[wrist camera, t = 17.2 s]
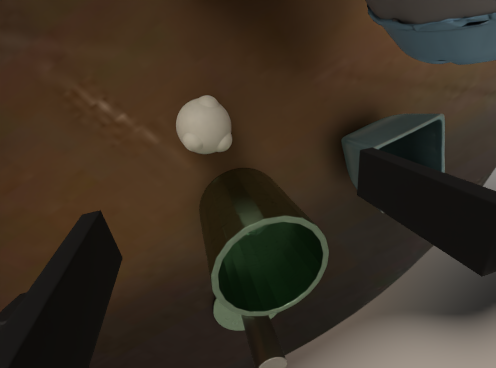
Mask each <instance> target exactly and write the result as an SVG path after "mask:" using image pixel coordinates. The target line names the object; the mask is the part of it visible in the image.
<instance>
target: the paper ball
mask: <svg viewBox="0 0 496 368" xmlns="http://www.w3.org/2000/svg"><path fill="white" fill-rule="evenodd" d="M176 130H177V134H178V136H179V138H180V140H181V142H182V143H183V144H184V146H185V147H186V148H187V149H188V150H190V151H193V152H196V153H200V154H210V153H214V152H216V151H217V152H223V151H226V150H227V149H228V148H229V147H230V146H231V144H232V135H231V120H230V117H229V115H228V113H227V111H226V110H225V109H224V107H223V106H222V105H220V104H219V103H218V101H217V100H216V99H215V98H214V97H212V96H209V95H205V96H202V97H200V98H198V99H194V100H192V101H190V102H188V103H186V104H185V105H184V106H183V107H182V109H181V110H180V112H179V114H178V116H177V120H176Z"/></svg>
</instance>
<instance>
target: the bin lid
mask: <svg viewBox="0 0 496 368" xmlns="http://www.w3.org/2000/svg"><path fill="white" fill-rule="evenodd" d="M213 313H214V317H215V319H216V321H217V322H218V323H219V324H220V325H221V326H223V327H225V328H227V329H230V330H238V331H241V330H245V332H246V336H247V340H248V343H249V347H250V351H251V354H252V358H253V362H254V365H255V368H286V366H287V361H286V358H285V355H284V353H283V350H282V348H281V345H280V343H279V340H278V338H277V335H276V333H275V330H274V327H273V325H272V322H271V320H270V319H271V318H273V317H274V316H275V315H276V314H277V313H278V312H277V313H274V314H270V315H266V316H245V315H241V314H237V313H234V312H231V311H230V310H229V309H227V308H226V307H224V306H223V305H221V304H220V303H219V301H218V299H217V298H216V297H215V299H214V303H213Z"/></svg>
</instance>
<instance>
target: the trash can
mask: <svg viewBox="0 0 496 368" xmlns="http://www.w3.org/2000/svg"><path fill="white" fill-rule="evenodd" d="M199 211H200V220H201V226H202V232H203V238H204V244H205V249H206V255H207V261H208V267H209V273H210V279H211V285H212V290H213V292H214V294H215V296H216V298H217V299H218V301H219V303H220V304H221V305H223V306H224V307H226V308H227V309H229V310H230V311H231V312H234V313H237V314H241V315H245V316H266V315H270V314H274V313H277V312H280V311H283V310H285V309H287V308H289V307H291V306H293V305H295V304H296V303H298V302H299V301H300V300H302V299H303V298H304V297H305V296H307V295H308V294H309V293H310V292H311V291H312V290H313V288H314V287H315V286H316V285H317V283H318V282H319V281H320V279H321V277H322V275H323V273H324V271H325V269H326V267H327V261H328V254H329V250H328V246H327V242H326V238H325V236H324V235H323V233H322V232H321V231H320V229H319V228H318V227H317V225H316V224H315V223H314V222H313V221H312V220H311V219H310V218H309V217H308V216H307V215H306V214H305V213H304V212H303V211H302V210H301V209H300V208H299V207H298V206H297V205H296V204H295V203H294V202H293V201H292V200H291V199H290V198H289V197H288V196H287V194H286V193H285V192H284V191H283V190H282V189H281V188H280V187H279V186H278V185H277V184H276V183H275V182H274V181H273V180H272V179H271V178H270V177H268V176H267V175H266V174H264V173H262V172H260V171H258V170H255V169H249V168H240V169H234V170H230V171H228V172H225V173H223V174H221V175H220V176H218V177H217V178H216V179H214V180H213V181H212V182H211V183H210V184H209V185H208V187H207V188H206V190H205V191H204V193H203V195H202V198H201V201H200V209H199Z"/></svg>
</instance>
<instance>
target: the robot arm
mask: <svg viewBox="0 0 496 368" xmlns="http://www.w3.org/2000/svg"><path fill="white" fill-rule="evenodd" d="M365 1H366V2H367V7H368V14H369V15H370V17H371V18H372V19H373V21H375V22H376V23H377V24H379V25H382V26H383V27H384V29H385V30H386V31H387V32H388V34H389V35H390V36H391V37H392V39H393V40H394V41H395V42H396V44H397V45H398V46H399V47H400V49H401V50H402V51H404V52H405V53H406V54H407V55H409V56H411V57H412V58H414V59H417V60H419V61H422V62H426V63H432V64H443V63H449V62H452V63H455V64H458V65H463V64H473V63H480V62H487V61H492V60H496V0H365ZM357 195H358V196H359V197H361V198H363V199H364V200H366V201H367V202H369V203H370V204H372V205H373V206H375V207H376V208H378V209H379V210H381V211H382V212H384V213H385V214H387V215H389V216H390V217H392V218H393V219H395V220H396V221H398V222H399V223H401V224H402V225H404V226H405V227H407V228H408V229H410V230H411V231H413V232H415V233H416V234H418V235H419V236H421V237H422V238H424V239H425V240H427V241H428V242H430V243H431V244H433V245H434V246H436V247H438V248H439V249H441V250H442V251H444V252H445V253H447V254H448V255H450V256H451V257H453V258H454V259H456V260H457V261H459V262H460V263H462V264H463V265H465V266H467V267H468V268H470V269H471V270H473V271H474V272H476V273H477V274H479V275H480V276H485V275H488V274H490V273H493V272H495V271H496V191H494V190H491V189H488V188H485V187H482V186H480V185H477V184H474V183H471V182H468V181H466V180H463V179H460V178H457V177H454V176H452V175H449V174H446V173H443V172H440V171H438V170H435V169H432V168H429V167H426V166H424V165H421V164H418V163H415V162H412V161H410V160H407V159H404V158H401V157H398V156H395V155H393V154H390V153H387V152H384V151H381V150H379V149H376V148H373V147H371V148H367V149H362V150H360V155H359V171H358V187H357ZM121 261H122V256H121V253H120V251H119V249H118V247H117V245H116V243H115V240H114V238H113V236H112V234H111V232H110V230H109V228H108V225H107V223H106V221H105V219H104V217H103V215H102V212H101V210H100V211H96V212H92V213H88V214H83V215H82V216H81V217H80V218H79V220H78V221H77V223H76V224H75V225H74V227H73V228H72V230H71V231H70V233H69V234H68V235H67V237H66V238H65V240H64V241H63V242H62V244H61V245H60V247H59V248H58V250H57V251H56V252H55V254H54V255H53V257H52V258H51V259H50V261H49V262H48V264H47V265H46V267H45V268H44V269H43V271H42V272H41V274H40V275H39V276H38V278H37V279H36V281H35V282H34V284H33V285H32V286H31V288H30V289H29V291H28V292H26V293H23V294H20V295H19V296H18V297H17V298H15V299H14V300H13V301H12V302H11V303H10V304H9V305H8V306H6V307H5V308H4V309H3V310H2V311H1V313H0V368H89V364H90V361H91V358H92V355H93V352H94V348H95V345H96V342H97V339H98V335H99V332H100V329H101V326H102V323H103V319H104V316H105V313H106V310H107V306H108V303H109V300H110V297H111V294H112V290H113V287H114V284H115V281H116V278H117V274H118V271H119V268H120V265H121Z"/></svg>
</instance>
